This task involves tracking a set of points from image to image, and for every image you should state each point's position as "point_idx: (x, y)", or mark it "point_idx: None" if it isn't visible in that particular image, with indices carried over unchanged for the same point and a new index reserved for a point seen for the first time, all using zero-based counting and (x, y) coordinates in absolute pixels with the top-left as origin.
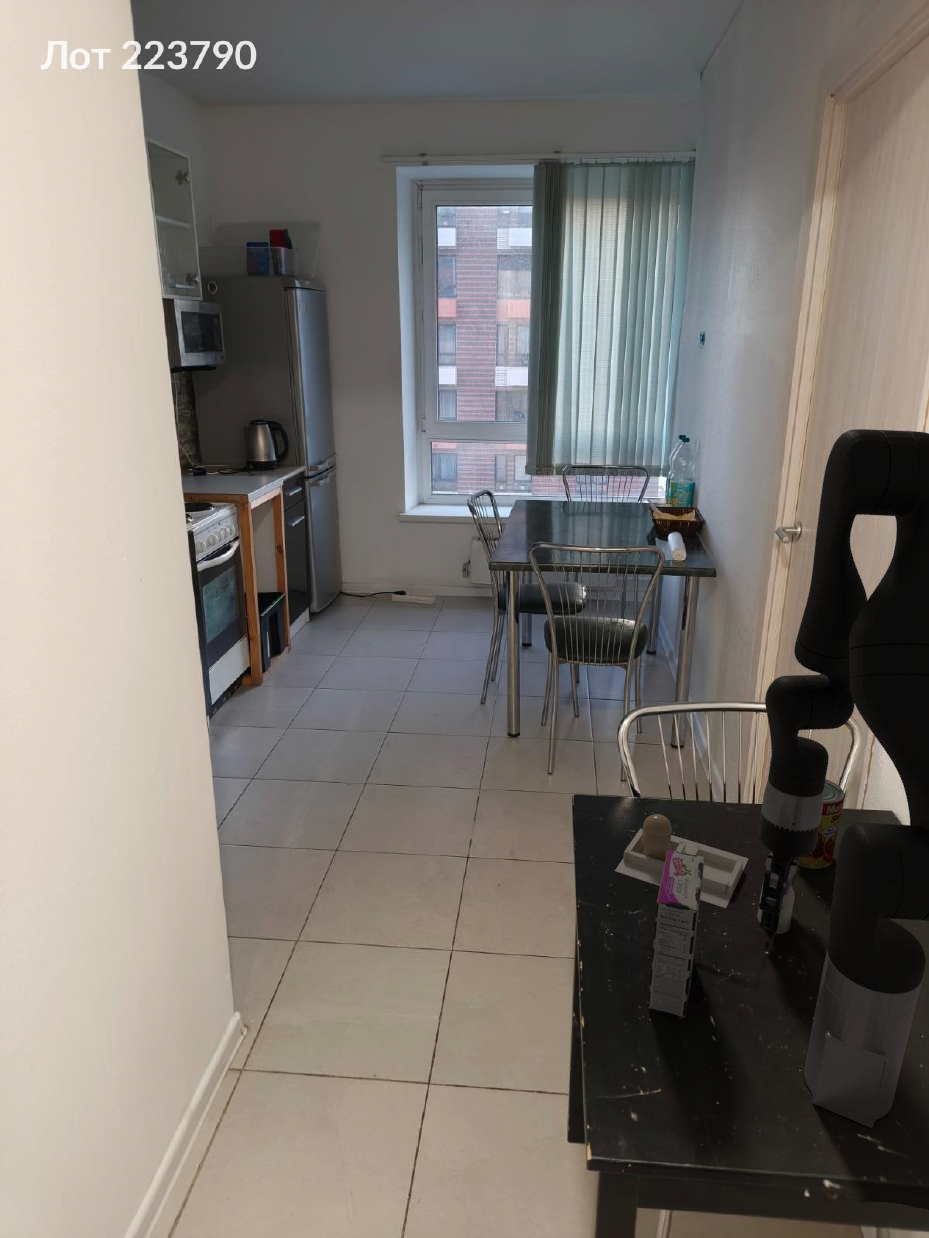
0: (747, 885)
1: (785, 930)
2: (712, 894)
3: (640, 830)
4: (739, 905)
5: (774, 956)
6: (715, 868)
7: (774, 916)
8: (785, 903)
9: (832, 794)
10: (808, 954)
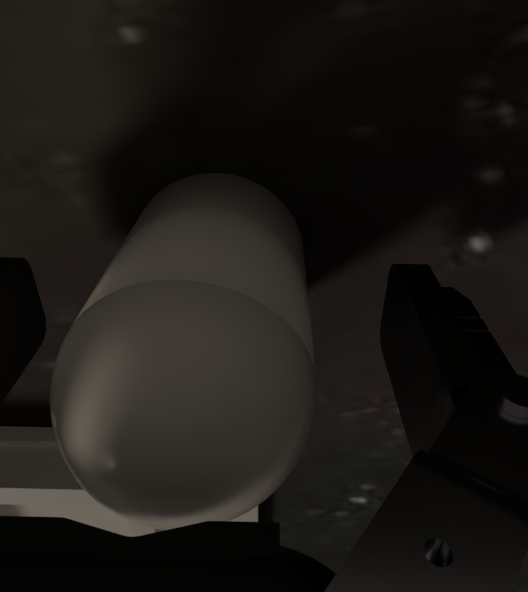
0: (12, 396)
1: (264, 192)
2: None
3: None
4: None
5: (499, 201)
6: (20, 511)
7: (514, 372)
8: (292, 331)
9: None
10: (409, 13)
